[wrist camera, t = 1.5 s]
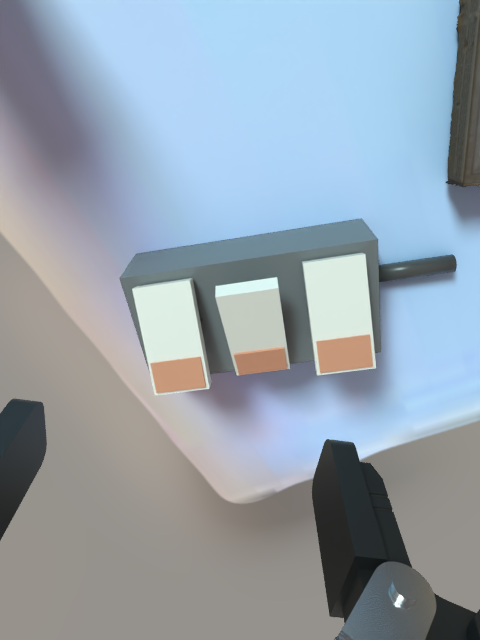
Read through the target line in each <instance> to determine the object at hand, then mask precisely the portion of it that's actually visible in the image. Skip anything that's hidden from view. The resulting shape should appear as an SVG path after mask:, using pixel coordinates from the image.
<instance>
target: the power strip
mask: <svg viewBox="0 0 480 640" xmlns="http://www.w3.org/2000/svg"><path fill="white" fill-rule="evenodd" d="M356 253H364V254H365V256H366V267H367V277H368V288H369V298H370V308H371V319H372V329H373V340H374V350H375V353H378V352H381V335H380V299H379V282H385V281H392V280H399V279H406V278H413V277H420V276H427V275H434V274H441V273H448V272H455V271H456V266H457V264H456V259H455V256H454V255H446V256H439V257H432V258H425V259H418V260H411V261H405V262H398V263H391V264H384V265H379V263H378V239H377V237H376V236H375V235H374V234H373V232H372V231H371V230H370V229H369V227H368V226H367V225H366V223H365V222H364V221H363V220H362V219H356V220H349V221H343V222H337V223H330V224H324V225H317V226H311V227H305V228H298V229H292V230H286V231H279V232H273V233H267V234H260V235H254V236H247V237H241V238H235V239H228V240H222V241H216V242H209V243H203V244H197V245H190V246H184V247H177V248H171V249H165V250H158V251H152V252H146V253H139V254H136V255H135V256H134V258H133V259H132V261H131V262H130V264H129V265H128V267H127V268H126V270H125V271H124V273H123V274H122V276H121V277H120V281H121V284H122V288H123V291H124V294H125V297H126V300H127V303H128V306H129V309H130V313H131V316H132V319H133V322H134V325H135V328H136V331H137V335H138V338H139V341H140V344H141V347H142V350H143V353H144V356H145V360H146V363H147V366H148V361H147V357H146V352H145V347H144V343H143V338H142V333H141V328H140V324H139V319H138V314H137V310H136V305H135V300H134V296H133V291H132V289H133V288H135V287H137V286H142V285H149V284H156V283H163V282H169V281H176V280H183V279H189V278H193V283H194V289H195V294H196V300H197V305H198V311H199V316H200V322H201V327H202V333H203V338H204V344H205V349H206V355H207V360H208V366H209V371H210V374H212V373H220V372H228V371H235V368H234V364H233V360H232V357H231V353H230V349H229V346H228V342H227V338H226V335H225V331H224V327H223V324H222V320H221V316H220V313H219V309H218V305H217V302H216V298H215V290H216V286H220V285H227V284H233V283H240V282H247V281H254V280H261V279H267V278H274V277H277V280H278V287H279V294H280V301H281V308H282V315H283V322H284V329H285V336H286V343H287V350H288V357H289V364H291V363H299V362H307V361H314V354H313V346H312V338H311V330H310V322H309V314H308V307H307V299H306V291H305V283H304V275H303V267H302V262H303V261H310V260H316V259H323V258H330V257H336V256H343V255H350V254H356ZM148 369H149V366H148ZM149 372H150V371H149Z"/></svg>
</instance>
